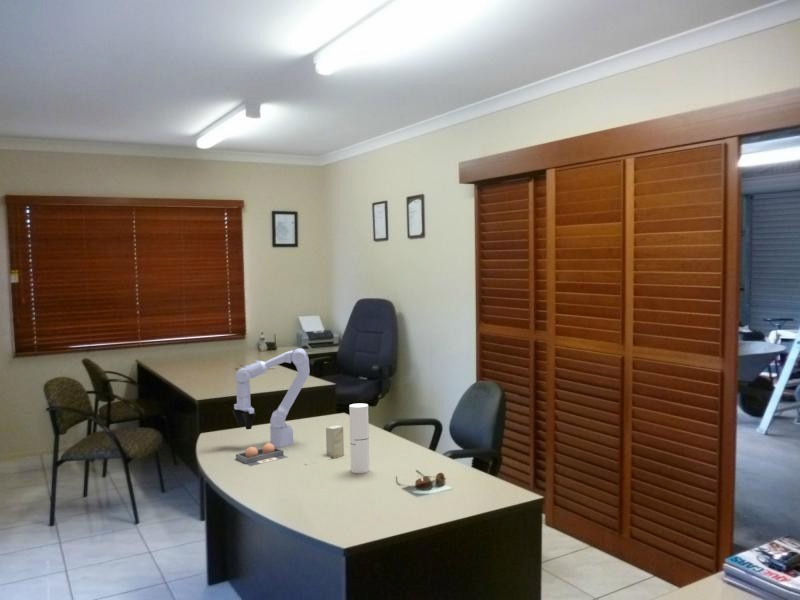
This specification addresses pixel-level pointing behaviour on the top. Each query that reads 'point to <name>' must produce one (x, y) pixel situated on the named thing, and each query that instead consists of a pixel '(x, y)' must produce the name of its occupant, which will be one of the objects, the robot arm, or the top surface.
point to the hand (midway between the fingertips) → (244, 427)
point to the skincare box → (335, 441)
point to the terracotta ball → (251, 452)
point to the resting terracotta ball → (268, 448)
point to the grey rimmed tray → (261, 457)
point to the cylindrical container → (359, 438)
